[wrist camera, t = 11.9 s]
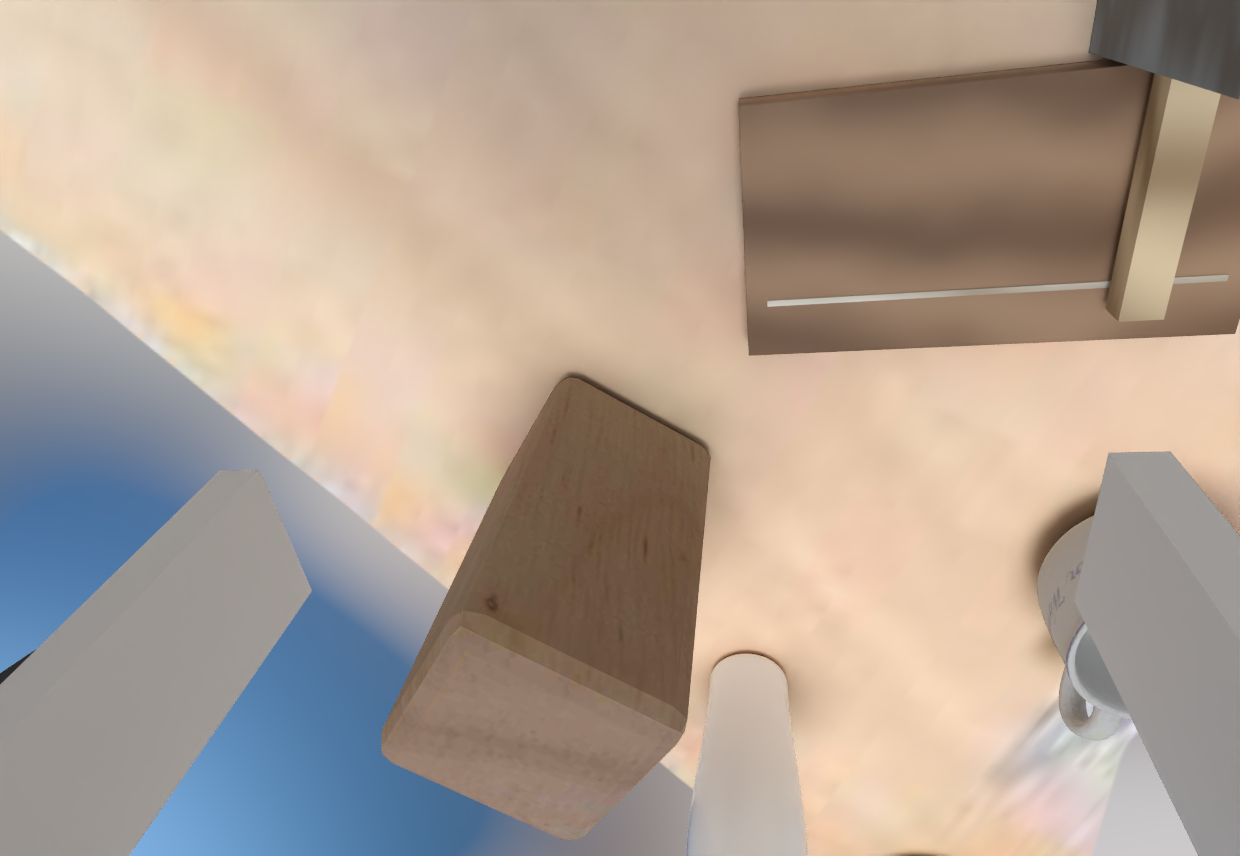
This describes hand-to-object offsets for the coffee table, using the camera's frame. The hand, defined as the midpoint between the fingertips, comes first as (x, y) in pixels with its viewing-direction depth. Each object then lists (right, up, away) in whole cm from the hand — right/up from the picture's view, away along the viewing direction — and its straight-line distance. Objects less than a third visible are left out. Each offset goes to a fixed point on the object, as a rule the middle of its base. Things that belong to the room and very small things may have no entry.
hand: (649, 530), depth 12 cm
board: (+17, +12, +24) cm, 31 cm away
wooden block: (-1, -1, +35) cm, 35 cm away
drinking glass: (+9, -16, +43) cm, 46 cm away
